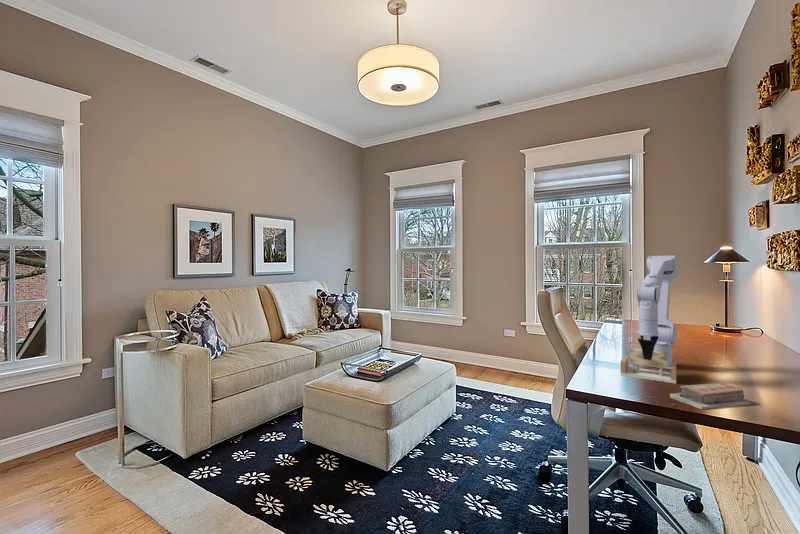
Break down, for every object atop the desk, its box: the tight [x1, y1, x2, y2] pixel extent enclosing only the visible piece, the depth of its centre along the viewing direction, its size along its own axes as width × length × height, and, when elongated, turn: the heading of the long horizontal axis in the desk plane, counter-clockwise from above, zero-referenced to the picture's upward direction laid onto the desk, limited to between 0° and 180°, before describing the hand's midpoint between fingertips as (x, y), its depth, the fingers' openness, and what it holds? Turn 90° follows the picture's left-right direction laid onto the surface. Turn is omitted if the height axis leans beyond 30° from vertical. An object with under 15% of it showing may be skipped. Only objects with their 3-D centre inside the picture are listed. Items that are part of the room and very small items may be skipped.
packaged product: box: [669, 382, 753, 410], centre depth 111 cm, size 18×5×10 cm
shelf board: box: [629, 347, 667, 369], centre depth 137 cm, size 11×4×5 cm, turn 53°
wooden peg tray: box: [620, 355, 677, 384], centre depth 137 cm, size 11×16×5 cm
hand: (648, 357), depth 137 cm, fingers open, 7 cm apart
